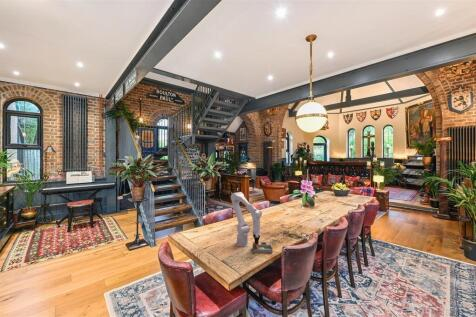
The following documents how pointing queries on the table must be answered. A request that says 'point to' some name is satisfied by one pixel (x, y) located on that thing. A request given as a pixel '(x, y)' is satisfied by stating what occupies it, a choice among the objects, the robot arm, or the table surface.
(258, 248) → the walnut step ramp
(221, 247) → the table surface
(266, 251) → the slate lane
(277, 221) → the table surface
